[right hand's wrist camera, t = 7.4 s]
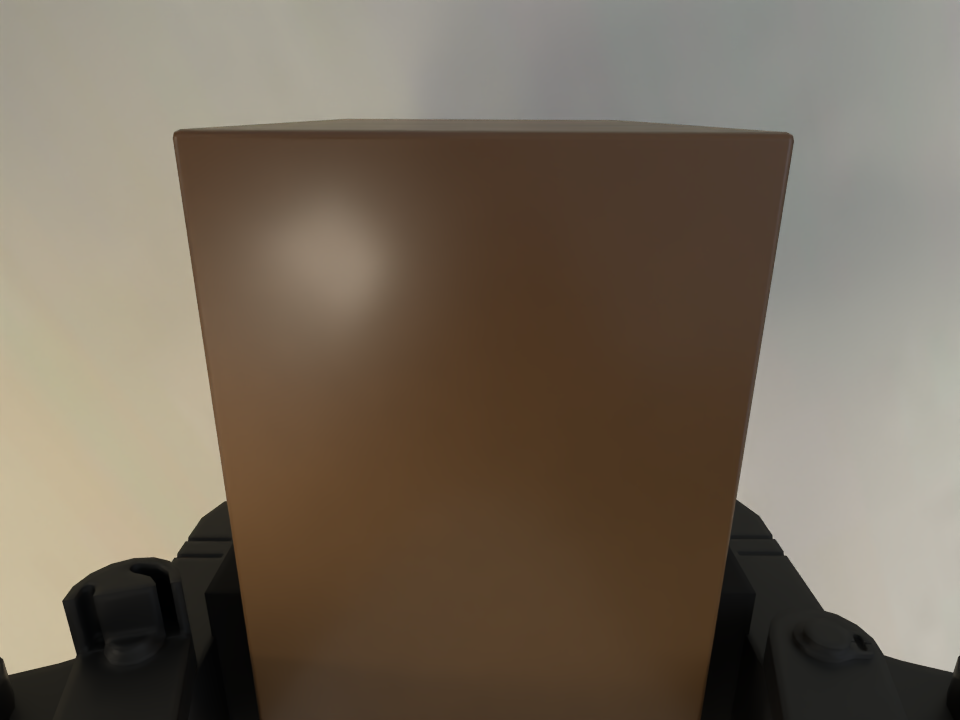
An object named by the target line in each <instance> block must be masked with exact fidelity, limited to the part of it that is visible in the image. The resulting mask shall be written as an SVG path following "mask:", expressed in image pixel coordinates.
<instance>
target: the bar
mask: <svg viewBox="0 0 960 720" xmlns="http://www.w3.org/2000/svg"><path fill="white" fill-rule="evenodd" d="M173 142H174V149H175V156H176V162H177V169H178V176H179V182H180V189H181V196H182V202H183V209H184V216H185V223H186V229H187V236H188V243H189V249H190V256H191V263H192V269H193V276H194V283H195V290H196V296H197V303H198V310H199V316H200V323H201V330H202V337H203V343H204V350H205V357H206V363H207V370H208V377H209V383H210V390H211V397H212V404H213V410H214V417H215V424H216V430H217V437H218V444H219V451H220V457H221V464H222V471H223V477H224V484H225V491H226V497H227V504H228V511H229V518H230V524H231V531H232V538H233V544H234V551H235V558H236V564H237V571H238V578H239V585H240V591H241V598H242V605H243V611H244V618H245V625H246V632H247V638H248V645H249V652H250V658H251V665H252V672H253V678H254V685H255V692H256V699H257V705H258V712H259V719H260V720H701V714H702V707H703V701H704V695H705V689H706V683H707V676H708V670H709V664H710V658H711V652H712V645H713V639H714V633H715V627H716V621H717V614H718V608H719V602H720V596H721V590H722V583H723V577H724V571H725V565H726V559H727V552H728V546H729V540H730V534H731V528H732V522H733V515H734V509H735V503H736V497H737V491H738V484H739V478H740V472H741V466H742V460H743V453H744V447H745V441H746V435H747V429H748V422H749V416H750V410H751V404H752V398H753V391H754V385H755V379H756V373H757V367H758V360H759V354H760V348H761V342H762V336H763V329H764V323H765V317H766V311H767V305H768V299H769V292H770V286H771V280H772V274H773V268H774V261H775V255H776V249H777V243H778V237H779V230H780V224H781V218H782V212H783V206H784V199H785V193H786V187H787V181H788V175H789V168H790V162H791V156H792V150H793V144H794V139H793V135H791V134H789V133H787V132H776V131H761V130H747V129H733V128H719V127H705V126H691V125H676V124H662V123H648V122H634V121H620V120H457V119H338V120H322V121H306V122H290V123H274V124H258V125H242V126H226V127H210V128H194V129H180V130H178V131H176V132H174V135H173Z"/></svg>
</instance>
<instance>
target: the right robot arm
mask: <svg viewBox="0 0 960 720" xmlns="http://www.w3.org/2000/svg"><path fill="white" fill-rule="evenodd" d="M62 602H63V606H64V609H65V613H66V617H67V620H68V624H69V628H70V631H71V635H72V639H73V642H74V646H75V650H76V653H77V656H76V658H75V659H72V660H69V661H65V662H62V663H59V664H55V665H50V666H46V667H42V668H37V669H33V670H29V671H24V672H20V673H16V674H12V675H8V673H7V670H6V667H5V664H4V661H3V659H2V658H1V657H0V720H260V719H259V712H258V705H257V699H256V692H255V685H254V678H253V672H252V665H251V658H250V652H249V645H248V638H247V632H246V625H245V618H244V611H243V605H242V598H241V591H240V585H239V578H238V571H237V564H236V558H235V551H234V544H233V538H232V531H231V524H230V518H229V511H228V504H227V501H225V502H223V503H222V504H220V505H219V506H218V507H216V508H215V509H214V510H212V511H211V512H209V513H208V514H207V515H205V516H204V517H203V518H201V520H200V521H199V523H198V524H197V526H196V527H195V529H194V530H193V532H192V533H191V534H190V536H189V537H188V541H186V542H185V543H184V545H183V546H182V548H181V549H180V551H179V552H178V554H177V558H174V559H173V561H172V562H170V561H167V560H163V559H159V558H155V557H151V558H133V559H129V560H125V561H121V562H117V563H113V564H110V565H108V566H106V567H104V568H102V569H100V570H97V571H95V572H93V573H91V574H89V575H88V576H87V577H85V578H84V579H83V580H81V581H80V582H79V583H77V584H76V585H75V586H73V587H72V589H71V590H70V591H69V593H68V594H67V595H66V597H65V598H64V599H63V601H62ZM701 720H960V656H959V657H958V660H957V663H956V666H955V669H954V672H953V673H952V672H948V671H943V670H939V669H935V668H930V667H926V666H922V665H918V664H913V663H909V662H905V661H901V660H898V659H894V658H891V657H888V656H884V655H883V653H882V651H881V650H880V648H879V647H878V645H877V644H876V642H875V641H874V639H873V638H872V637H871V636H869V635H868V634H867V633H866V632H865V631H864V630H862V629H861V628H860V627H859V626H858V625H856V624H854V623H852V622H850V621H848V620H846V619H845V618H843V617H841V616H839V615H837V614H833V613H830V612H827V611H824V610H823V608H822V607H821V605H820V604H819V602H818V601H817V599H816V598H815V597H814V595H813V594H812V592H811V591H810V589H809V588H808V586H807V585H806V583H805V582H804V581H803V579H802V578H801V576H800V575H799V573H798V572H797V570H796V569H795V567H794V566H793V565H792V563H791V562H790V560H789V559H788V557H787V556H784V551H783V550H782V549H781V547H780V546H779V544H778V543H777V541H776V540H775V539H773V538H772V534H771V533H770V531H769V530H768V528H767V527H766V525H765V524H764V522H763V521H762V519H761V518H760V517H759V516H758V515H757V514H756V513H754V512H753V511H751V510H750V509H749V508H747V507H746V506H745V505H743V504H742V503H740V502H739V501H738V500H736V503H735V509H734V515H733V522H732V528H731V534H730V540H729V546H728V552H727V559H726V565H725V571H724V577H723V583H722V590H721V596H720V602H719V608H718V614H717V621H716V627H715V633H714V639H713V645H712V652H711V658H710V664H709V670H708V676H707V683H706V689H705V695H704V701H703V707H702V714H701Z"/></svg>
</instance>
